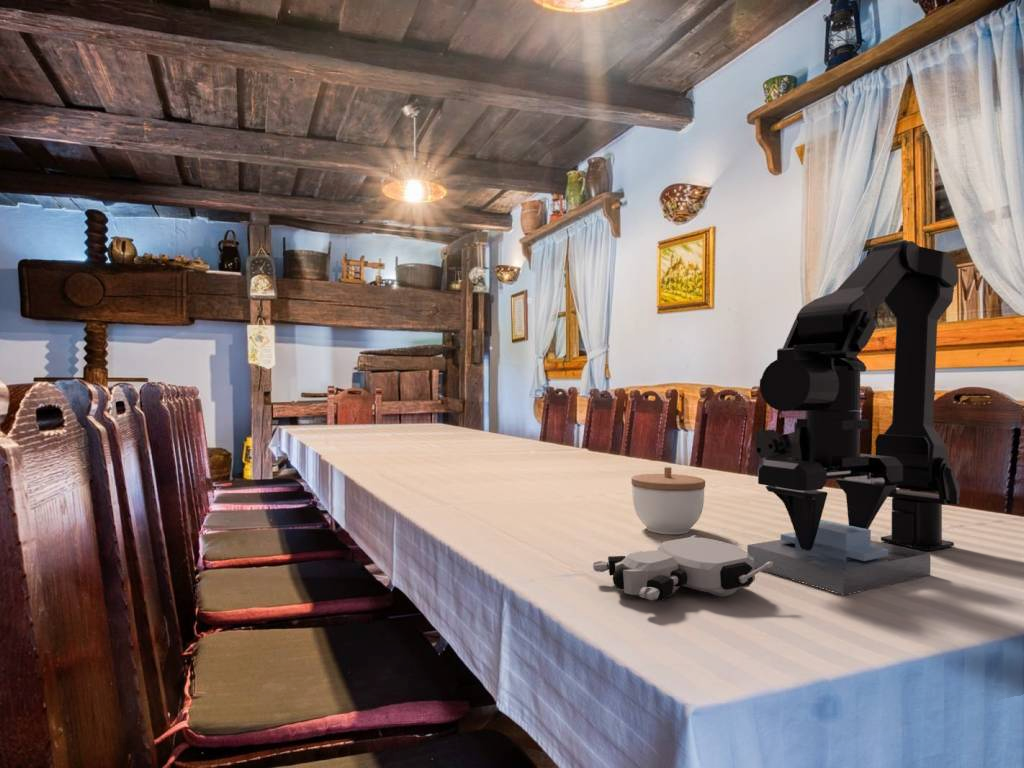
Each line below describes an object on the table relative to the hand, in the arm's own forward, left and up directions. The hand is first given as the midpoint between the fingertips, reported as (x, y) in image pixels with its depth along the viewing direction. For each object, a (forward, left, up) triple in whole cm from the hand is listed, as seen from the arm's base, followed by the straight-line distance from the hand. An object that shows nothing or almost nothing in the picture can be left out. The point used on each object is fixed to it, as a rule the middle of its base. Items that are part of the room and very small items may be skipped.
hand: (831, 545), depth 72 cm
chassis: (-1, 0, -3) cm, 3 cm away
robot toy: (+21, -3, -3) cm, 21 cm away
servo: (0, 0, -3) cm, 3 cm away
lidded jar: (+2, -25, -3) cm, 25 cm away
